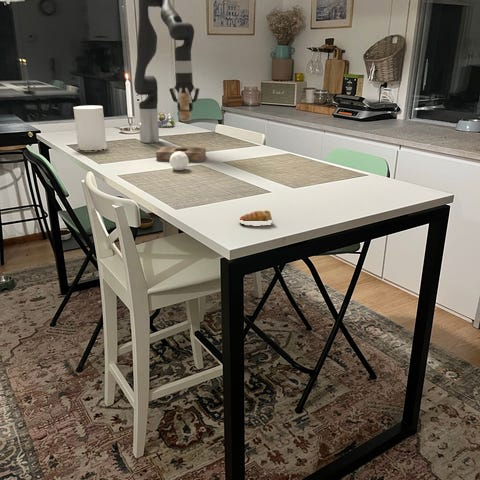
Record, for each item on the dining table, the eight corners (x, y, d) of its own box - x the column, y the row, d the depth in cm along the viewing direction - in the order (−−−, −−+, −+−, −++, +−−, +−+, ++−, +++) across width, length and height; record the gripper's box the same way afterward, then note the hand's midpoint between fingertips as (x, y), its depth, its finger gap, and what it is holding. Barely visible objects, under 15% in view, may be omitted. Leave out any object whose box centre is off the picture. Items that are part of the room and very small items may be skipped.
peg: (180, 120, 222) (179, 93, 218) (182, 119, 226) (181, 92, 222) (189, 120, 222) (188, 93, 218) (191, 119, 226) (190, 92, 221)
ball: (181, 177, 201) (179, 164, 194) (167, 168, 203) (164, 155, 197) (193, 165, 204) (191, 153, 197) (179, 157, 206) (176, 144, 200)
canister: (99, 151, 235) (94, 109, 228) (73, 150, 238) (68, 108, 230) (111, 146, 247) (107, 105, 240) (86, 145, 250) (82, 105, 242)
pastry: (241, 229, 138) (242, 216, 136) (236, 221, 144) (236, 209, 142) (273, 226, 140) (274, 213, 138) (267, 219, 146) (267, 207, 144)
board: (156, 160, 217) (155, 151, 215) (163, 155, 228) (163, 146, 227) (200, 162, 215) (200, 153, 213) (205, 156, 226) (205, 147, 224)
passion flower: (162, 136, 306) (149, 121, 301) (165, 130, 315) (153, 115, 310) (176, 126, 302) (163, 110, 297) (178, 120, 312) (166, 105, 307)
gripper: (165, 72, 214) (168, 112, 220) (198, 72, 212) (199, 112, 218) (170, 71, 221) (172, 110, 227) (201, 71, 219) (202, 110, 225)
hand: (185, 111), depth 223 cm, fingers closed on peg, 4 cm apart
